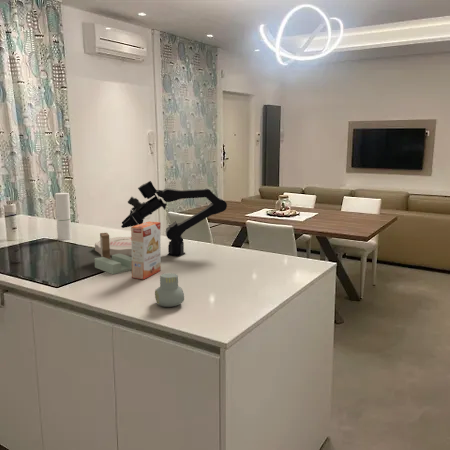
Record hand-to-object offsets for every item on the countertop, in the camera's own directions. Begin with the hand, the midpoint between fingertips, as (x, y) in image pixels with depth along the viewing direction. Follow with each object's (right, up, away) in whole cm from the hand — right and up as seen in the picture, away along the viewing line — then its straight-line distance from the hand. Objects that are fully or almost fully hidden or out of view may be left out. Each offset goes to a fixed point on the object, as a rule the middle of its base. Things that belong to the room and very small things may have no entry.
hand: (121, 225), depth 209 cm
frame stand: (+1, -18, -16) cm, 24 cm away
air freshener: (+29, -26, -58) cm, 70 cm away
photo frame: (-6, -16, -6) cm, 18 cm away
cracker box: (+16, -20, -25) cm, 36 cm away
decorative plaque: (-1, -12, +18) cm, 22 cm away
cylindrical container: (-41, -8, +40) cm, 58 cm away
